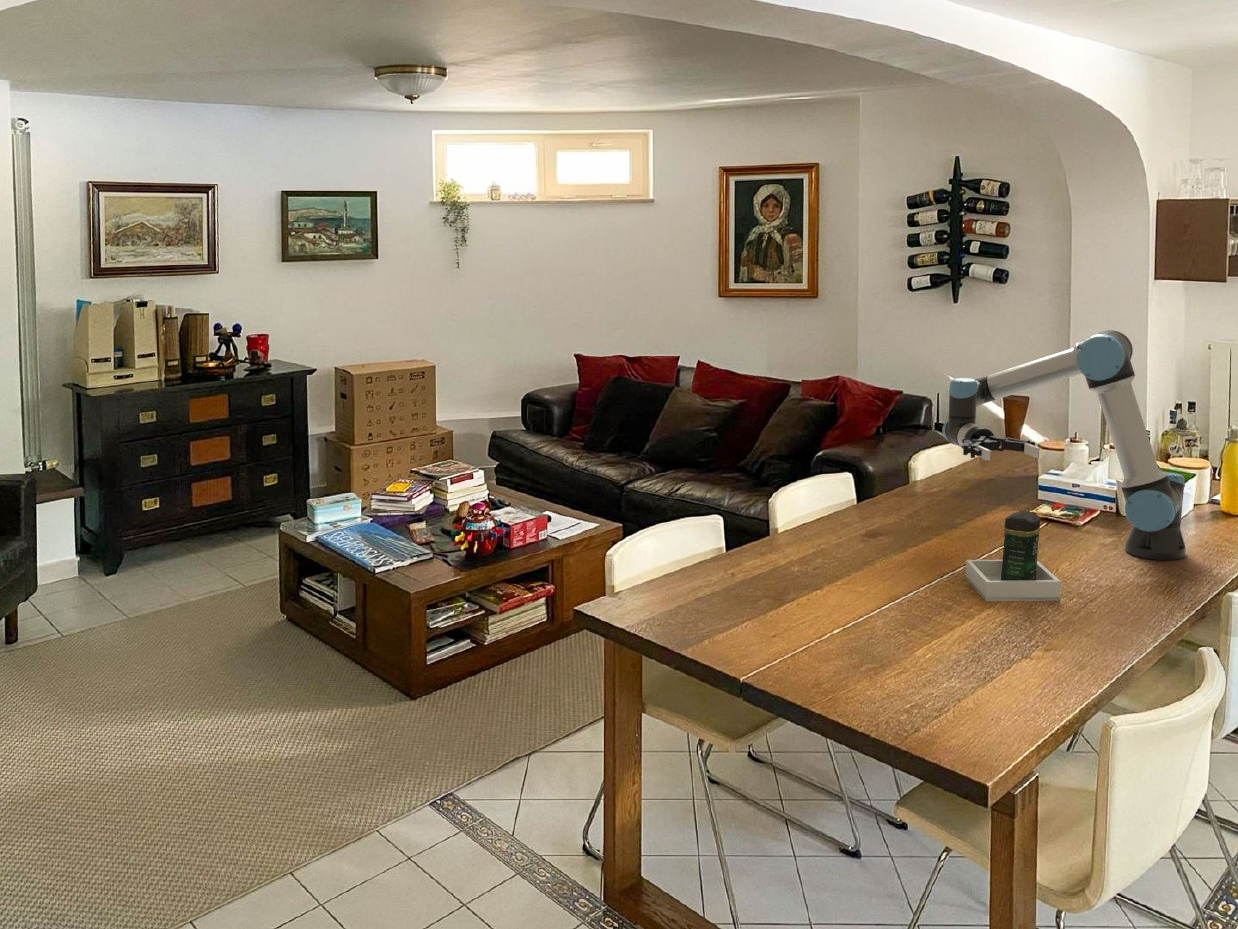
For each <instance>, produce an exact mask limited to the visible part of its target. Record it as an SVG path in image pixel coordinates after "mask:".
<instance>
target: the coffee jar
mask: <svg viewBox="0 0 1238 929" xmlns="http://www.w3.org/2000/svg"><path fill="white" fill-rule="evenodd" d="M1003 527H1004V529H1003V531H1004V532H1003V536H1004V538H1003V550H1002V560H1003V561H1002V571H1001V581H1024V580H1036V575H1037V561H1038V552H1039V551H1038V550H1039V538H1040V529H1041V518H1040V516H1039V515H1038V514H1037V513H1036V512H1033V511H1029V510H1028V511H1026V510H1019V511H1016V512H1014V513H1013V512H1012V513H1011V514H1009V515H1008V516H1007V517H1005V519H1004V526H1003Z"/></svg>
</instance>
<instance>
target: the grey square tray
mask: <svg viewBox="0 0 1238 929" xmlns="http://www.w3.org/2000/svg"><path fill="white" fill-rule="evenodd" d="M1002 561H1003V559H966V560H965V575H964V576H965V580H966V581H967V582H968V584H969V585H970V586H971V587H972V588H973V589H974V590H975V591H976V592H977V594H978V595H979V596H980V595H981V596H980V597H981V598H982V600H984V601H985V602H1059V601H1061V600H1060V599H1061V598H1060V597H1061V583H1062V582H1061V580H1060V579H1059V578H1058V577H1057V576H1055V574H1053V572H1051V571H1049V570H1048V569H1047V568H1046V567H1045V565H1043V564H1042V563H1041V562H1039V561H1038V560H1037V575H1036V580H1024V581H1001V571H1002Z"/></svg>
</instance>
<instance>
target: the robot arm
mask: <svg viewBox="0 0 1238 929" xmlns="http://www.w3.org/2000/svg"><path fill="white" fill-rule="evenodd" d="M1133 352H1134V349H1133V345H1132V342H1131V340H1130V338H1129V337H1128V336H1127V335H1125V334H1124V333H1122V332H1121V331H1117V330H1112V329H1111V330H1110V329H1108V330H1103V331H1100V332H1098V333H1095V334H1093V335H1091V336H1088V337H1087V338H1086V339H1085V340H1082V341H1080V342H1076V344H1075V346H1074V347H1072V348H1069V349H1066V350H1063V351H1060V352H1057V353H1054V354H1051V355H1048V356H1045V357H1042V358H1038V359H1035V360H1032V361H1029V362H1027V363H1023V364H1020V365H1017V366H1013V367H1011V368H1007V369H1005V370H1001V371H998V372H995V373H992V374H989V375H986V376H984V377H983V376H982V377H980V378H969V377H968V378H967V377H959V378H953V379H951V381H950V384H949V390H948V394H949V396H948V398H949V399H948V400H949V402H948V403H949V404H948V418H947V420H946V421H945V422H944V423H943V426H942V428H941V430H942V431H941V432H942V436H943V437H944V438H945V440H946V441H948V442H949V443H950V444H952V445H955V446H957V447H960V448H961V449H963V450H962V451H963V452H962V455H963V456H967V455H969V454H970V458H971V459H975V458H976V457H979V458H981V459H983V460H985V461H991V452H994V451H999V452H1004V451H1014V452H1020V453H1024V455H1028V456H1030V457H1033V458H1035V459H1039V458H1040V449H1041V448H1040V447H1038V446H1036V442H1035V441H1031V440H1029V439H1028V440H1024V439H1017V438H1012V437H1009V436H1005V437H997V436H996V435H994V433H993V432H992V430H991V429H988V428H986V427H984V426H982V425H978V424H976V419H977V408H978V407H979V406H981V405H983V404H987V403H990V402H993V401H995V400H999V399H1003V398H1005V397H1009V396H1012V395H1013V396H1014V395H1015V394H1019V393H1022V392H1023V393H1024V392H1025V391H1029V390H1032V389H1036V388H1039V387H1042V386H1046V385H1049V384H1052V383H1056V382H1059V381H1063V380H1065V379H1068V378H1071V377H1075V376H1078V375H1081V374H1082V375H1083V376H1084V377H1085V381H1086V383H1087V386H1088V389H1089V390H1090V391H1092V392H1094V393H1096V394H1097V397H1098V401H1099V403H1100V407H1101V410H1102V412H1103V413H1102V414H1103V416H1104V420H1105V422H1106V424H1107V429H1108V431H1109V434H1110V437H1111V440H1112V444H1113V447H1114V449H1115V453H1116V456H1117V460H1118V462H1119V465H1120V469H1121V472H1122V475H1123V480H1122V482H1121V484H1120V488H1121V491H1122V496H1123V498H1124V501H1125V503H1124V512H1125V517H1126V519H1127V520H1128V522H1129V523H1130V524H1131V525H1132V526H1131V529H1130V530H1129V534H1128V536H1127V538H1126V540H1125V544H1124V551H1125V552H1126V553H1128V554H1130V555H1132V556H1134V557H1138V558H1143V559H1149V560H1158V561H1176V560H1181V559H1183V558H1185V556H1186V549H1187V548H1186V543H1185V540H1184V537H1183V533H1182V529H1181V527H1182V526H1181V524H1182V522H1181V521H1182V513H1183V503H1184V491H1185V490H1184V489H1185V488H1186V484H1185V476H1184V475H1182V474H1180V473H1175V472H1167V471H1163V470H1161V469H1160V468H1159V466H1158V463H1157V459H1156V456H1155V453H1154V451H1153V447H1152V444H1151V441H1150V439H1149V436H1148V435H1149V434H1148V432H1147V428H1146V426H1145V423H1144V419H1143V415H1142V413H1141V411H1140V407H1139V404H1138V401H1137V398H1136V395H1135V392H1134V389H1133V385H1132V383H1133V381H1134V379H1135V377H1136V375H1135V371H1134V367H1133V364H1132V357H1133Z"/></svg>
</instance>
